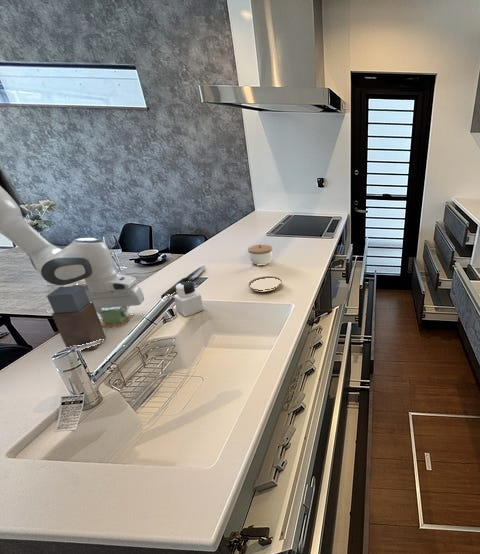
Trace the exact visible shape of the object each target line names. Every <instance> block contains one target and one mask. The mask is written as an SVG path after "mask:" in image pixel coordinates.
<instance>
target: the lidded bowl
mask: <svg viewBox="0 0 480 554" xmlns="http://www.w3.org/2000/svg"><path fill="white" fill-rule="evenodd" d="M247 252H248V257H249V259H250V261H251V262H252V263H253V264H254V265H255V264H266V263H270V262H271V261H272V258H273V247H272V246H271V245H269V244H256V245H255V244H254V245H251V246H249V247H248V248H247Z"/></svg>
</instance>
